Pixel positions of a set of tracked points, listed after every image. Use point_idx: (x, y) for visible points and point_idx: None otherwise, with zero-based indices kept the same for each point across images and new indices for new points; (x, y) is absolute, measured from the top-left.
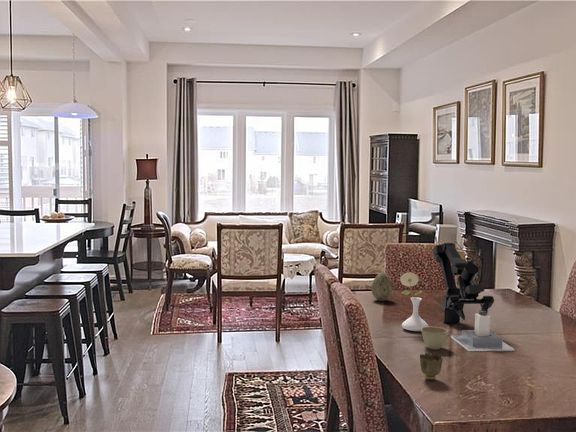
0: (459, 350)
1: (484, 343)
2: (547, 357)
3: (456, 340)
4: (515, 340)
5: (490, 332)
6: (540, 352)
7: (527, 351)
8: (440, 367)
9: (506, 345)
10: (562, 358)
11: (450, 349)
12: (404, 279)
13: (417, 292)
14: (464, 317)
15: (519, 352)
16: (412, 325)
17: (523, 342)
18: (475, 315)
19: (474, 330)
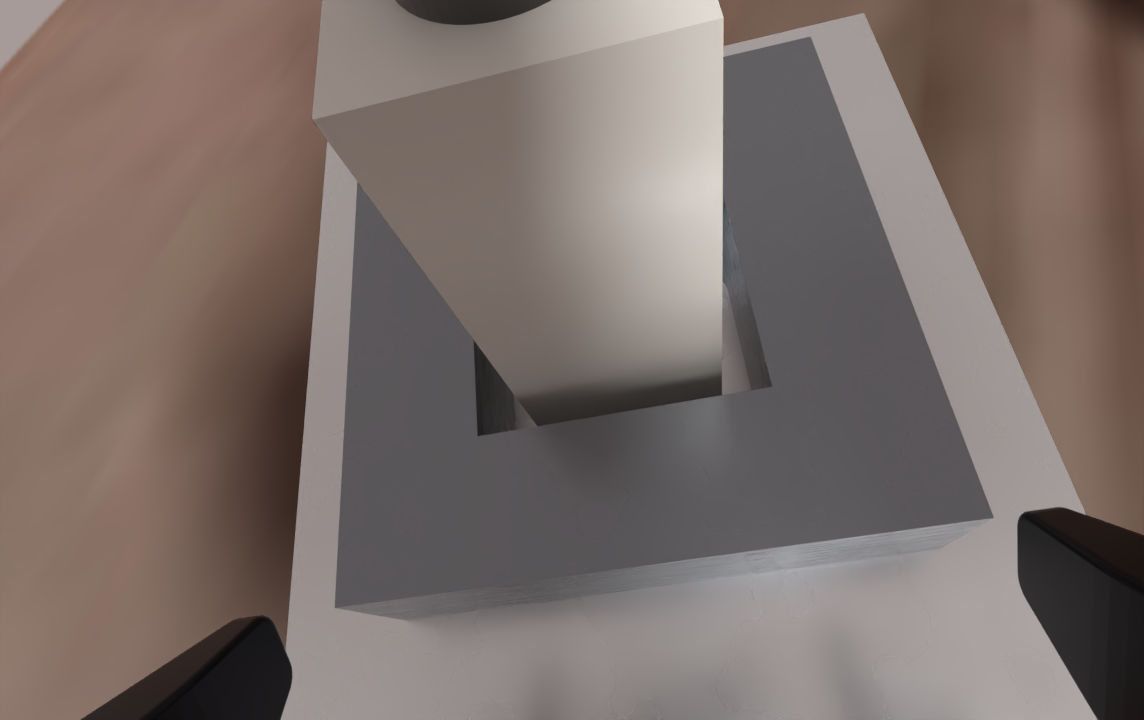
0: (980, 42)
1: None
2: (156, 53)
3: (1033, 415)
4: (66, 609)
5: (407, 410)
6: (117, 167)
7: (215, 171)
8: None
9: (348, 242)
10: (60, 59)
11: (1109, 50)
12: None
13: None
14: (1068, 527)
15: (311, 125)
16: None
17: (32, 512)
18: (715, 42)
19: (721, 330)
